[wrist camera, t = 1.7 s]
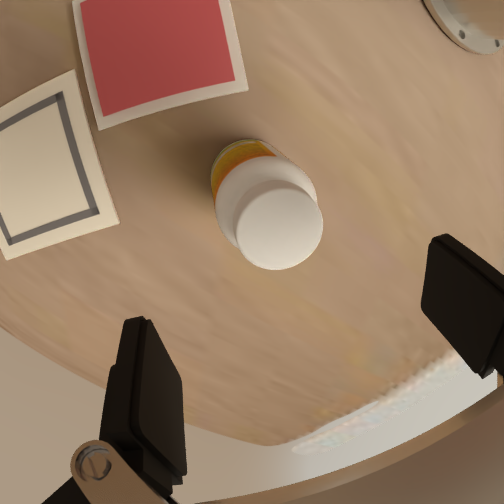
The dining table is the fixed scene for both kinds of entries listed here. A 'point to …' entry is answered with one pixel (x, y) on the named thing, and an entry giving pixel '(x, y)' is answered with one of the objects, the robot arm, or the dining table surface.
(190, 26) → the ink pad
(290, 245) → the supplement bottle
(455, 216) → the dining table surface
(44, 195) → the marked sheet
